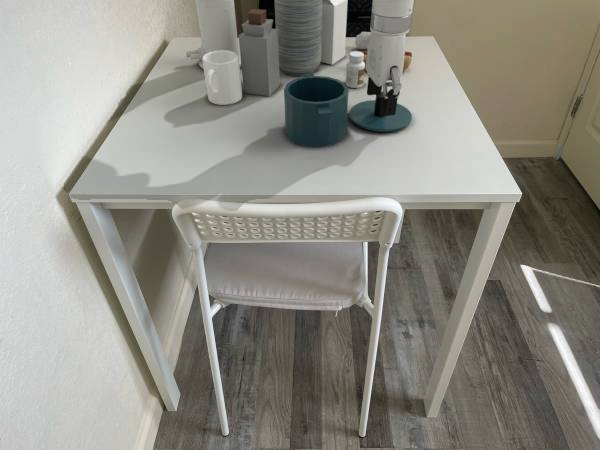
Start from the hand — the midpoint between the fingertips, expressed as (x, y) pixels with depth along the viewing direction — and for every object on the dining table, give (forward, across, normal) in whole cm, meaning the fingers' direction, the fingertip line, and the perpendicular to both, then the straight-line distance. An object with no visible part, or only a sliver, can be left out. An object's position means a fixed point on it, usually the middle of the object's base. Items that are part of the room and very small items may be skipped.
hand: (380, 104), depth 99 cm
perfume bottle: (+4, -20, -24) cm, 31 cm away
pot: (+3, +3, -15) cm, 16 cm away
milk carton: (+4, -36, -4) cm, 36 cm away
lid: (+3, 0, 0) cm, 3 cm away
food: (+4, -26, +9) cm, 28 cm away
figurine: (+4, -40, +9) cm, 41 cm away
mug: (+4, -15, -34) cm, 37 cm away
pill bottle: (+4, -18, -1) cm, 18 cm away
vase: (+4, -30, -13) cm, 33 cm away
